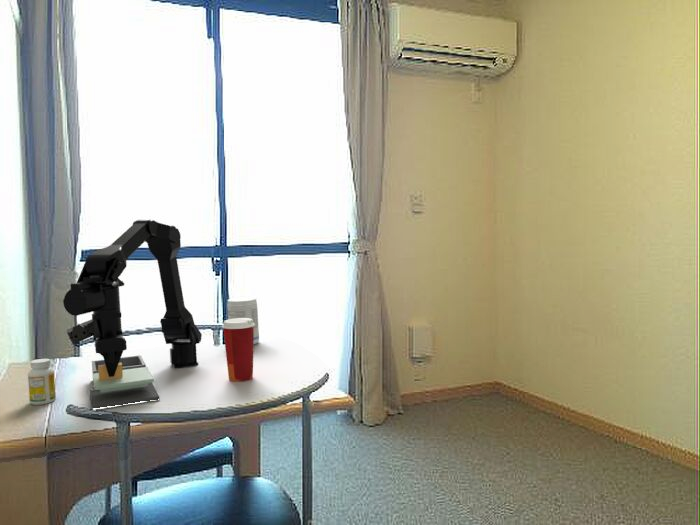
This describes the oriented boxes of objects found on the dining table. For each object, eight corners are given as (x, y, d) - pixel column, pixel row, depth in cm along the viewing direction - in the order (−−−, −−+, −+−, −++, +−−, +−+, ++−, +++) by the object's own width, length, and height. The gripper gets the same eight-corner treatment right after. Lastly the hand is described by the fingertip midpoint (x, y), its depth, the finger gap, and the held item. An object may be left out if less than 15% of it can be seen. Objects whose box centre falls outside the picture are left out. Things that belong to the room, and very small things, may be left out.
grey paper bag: (250, 339, 200) (248, 295, 199) (264, 343, 193) (262, 298, 191) (223, 343, 194) (221, 299, 193) (238, 348, 187) (236, 301, 185)
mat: (151, 385, 147) (151, 381, 147) (159, 400, 135) (159, 396, 135) (90, 394, 141) (90, 390, 141) (92, 410, 129) (91, 406, 129)
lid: (147, 373, 146) (146, 354, 146) (154, 386, 135) (153, 365, 134) (92, 381, 141) (91, 361, 140) (94, 394, 130) (93, 373, 129)
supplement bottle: (35, 406, 133) (32, 364, 132) (25, 402, 136) (22, 361, 136) (60, 400, 137) (57, 359, 136) (50, 396, 140) (47, 356, 140)
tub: (141, 373, 159) (140, 355, 159) (146, 384, 148) (145, 364, 148) (93, 380, 154) (91, 361, 154) (94, 391, 143) (93, 371, 143)
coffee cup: (262, 375, 154) (260, 317, 152) (247, 384, 146) (244, 323, 145) (234, 373, 156) (231, 317, 155) (217, 381, 149) (214, 322, 147)
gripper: (67, 306, 140) (72, 371, 142) (67, 317, 123) (72, 391, 125) (118, 302, 145) (122, 364, 146) (124, 312, 128) (128, 383, 129)
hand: (111, 375), depth 137 cm, fingers closed on lid
